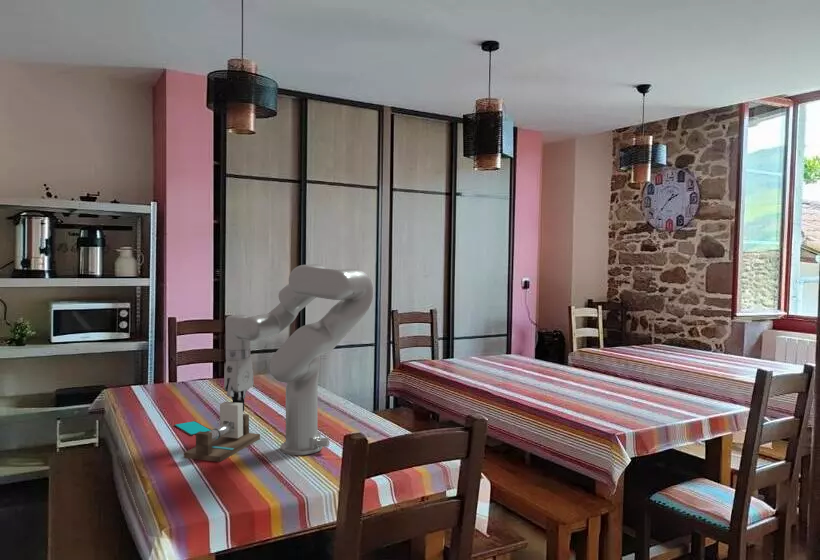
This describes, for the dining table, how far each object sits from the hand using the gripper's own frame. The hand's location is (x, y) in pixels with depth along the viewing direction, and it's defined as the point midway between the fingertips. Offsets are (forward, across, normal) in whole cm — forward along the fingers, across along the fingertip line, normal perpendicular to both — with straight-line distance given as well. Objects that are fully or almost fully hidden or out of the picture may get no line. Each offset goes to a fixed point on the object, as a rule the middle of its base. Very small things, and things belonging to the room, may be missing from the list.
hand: (238, 411), depth 187 cm
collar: (+7, -4, 0) cm, 8 cm away
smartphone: (+10, +6, +21) cm, 24 cm away
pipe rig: (+9, -8, 0) cm, 12 cm away
